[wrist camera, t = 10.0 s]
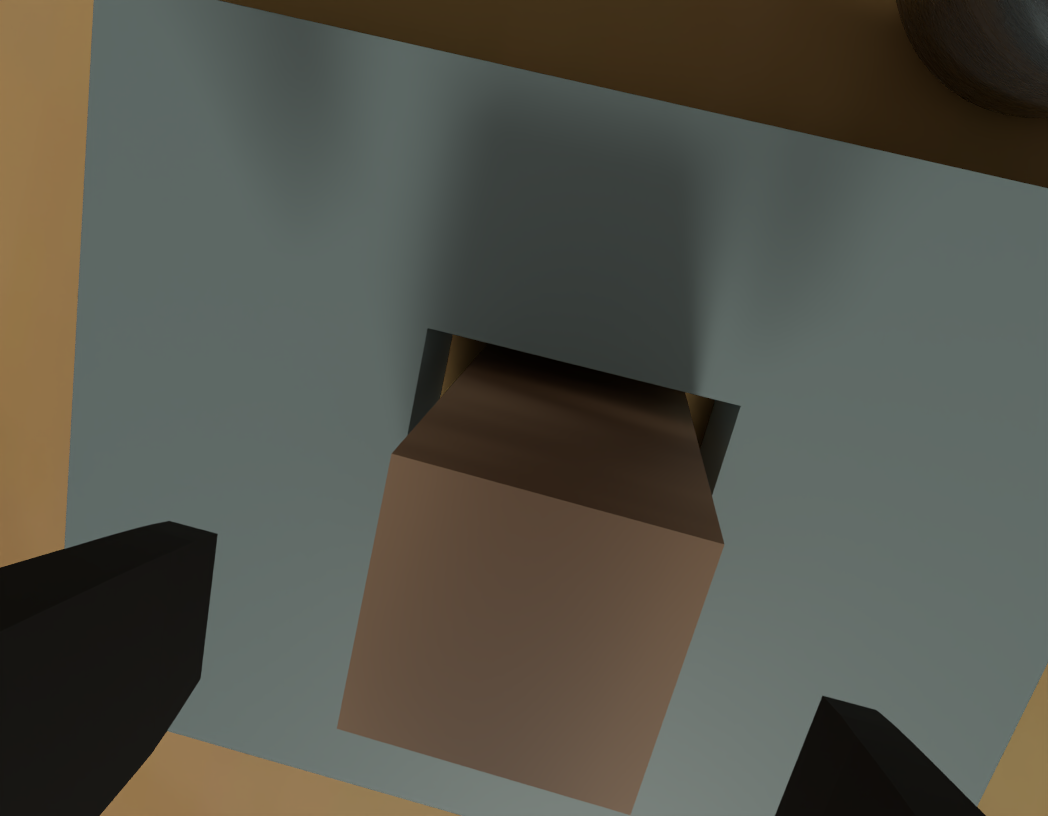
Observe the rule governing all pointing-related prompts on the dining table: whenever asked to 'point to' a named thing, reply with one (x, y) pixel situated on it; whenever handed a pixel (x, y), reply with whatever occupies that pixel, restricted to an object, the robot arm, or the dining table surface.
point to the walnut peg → (536, 577)
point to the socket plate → (569, 336)
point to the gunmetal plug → (985, 50)
